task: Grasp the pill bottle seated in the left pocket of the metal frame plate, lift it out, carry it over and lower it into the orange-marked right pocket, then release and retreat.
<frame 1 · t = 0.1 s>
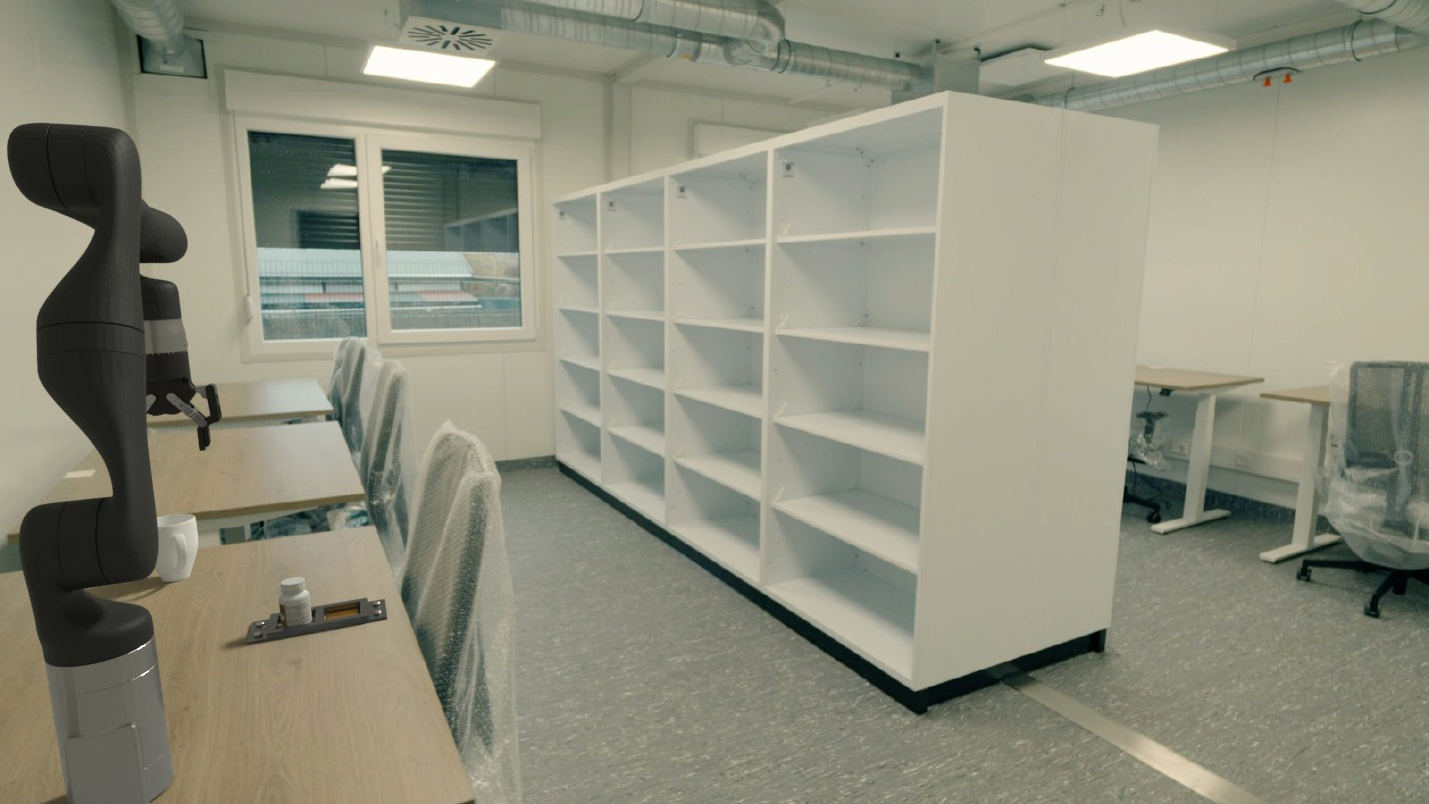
hand: (171, 452, 120), 29 cm above the table, fingers open, 8 cm apart
mug: (179, 581, 144), on the table
pill bottle: (297, 627, 125), resting in metal frame plate
metal frame plate: (320, 621, 126), on the table
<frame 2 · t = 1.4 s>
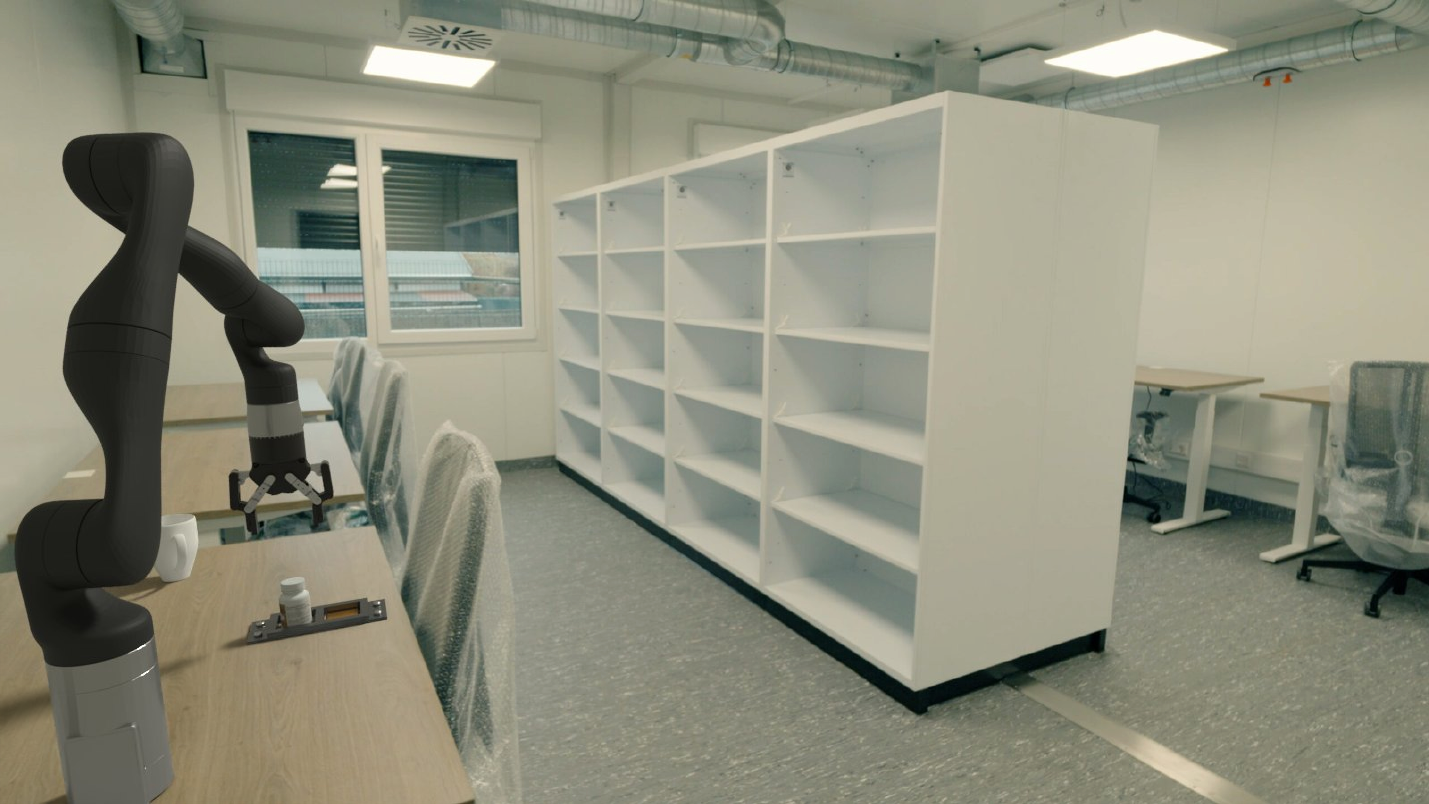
hand: (286, 529, 122), 16 cm above the table, fingers open, 8 cm apart
nothing on the table moved.
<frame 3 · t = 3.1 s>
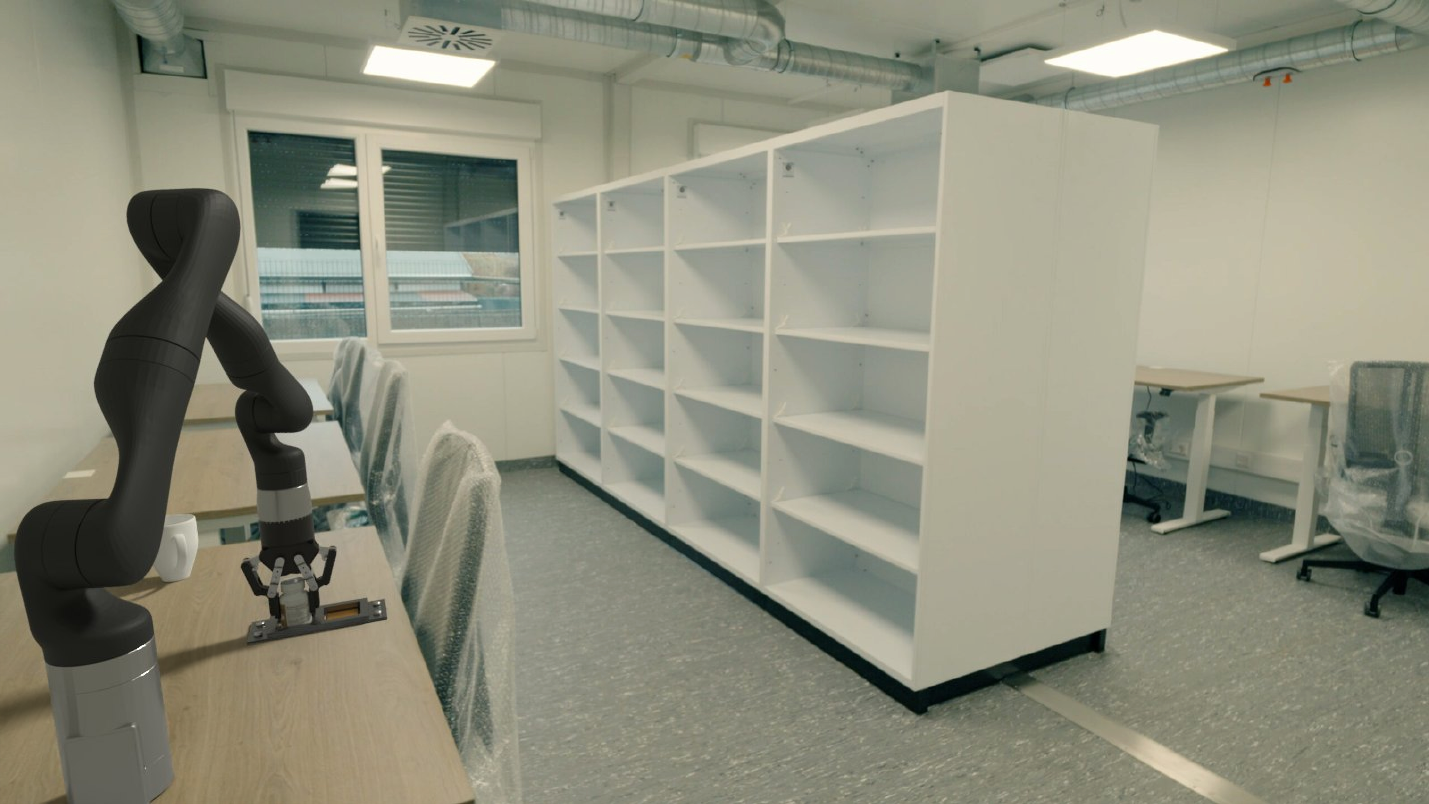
hand: (296, 613, 124), 2 cm above the table, fingers closed on pill bottle, 4 cm apart
pill bottle: (297, 626, 125), resting in metal frame plate, touching gripper
everything else where it was.
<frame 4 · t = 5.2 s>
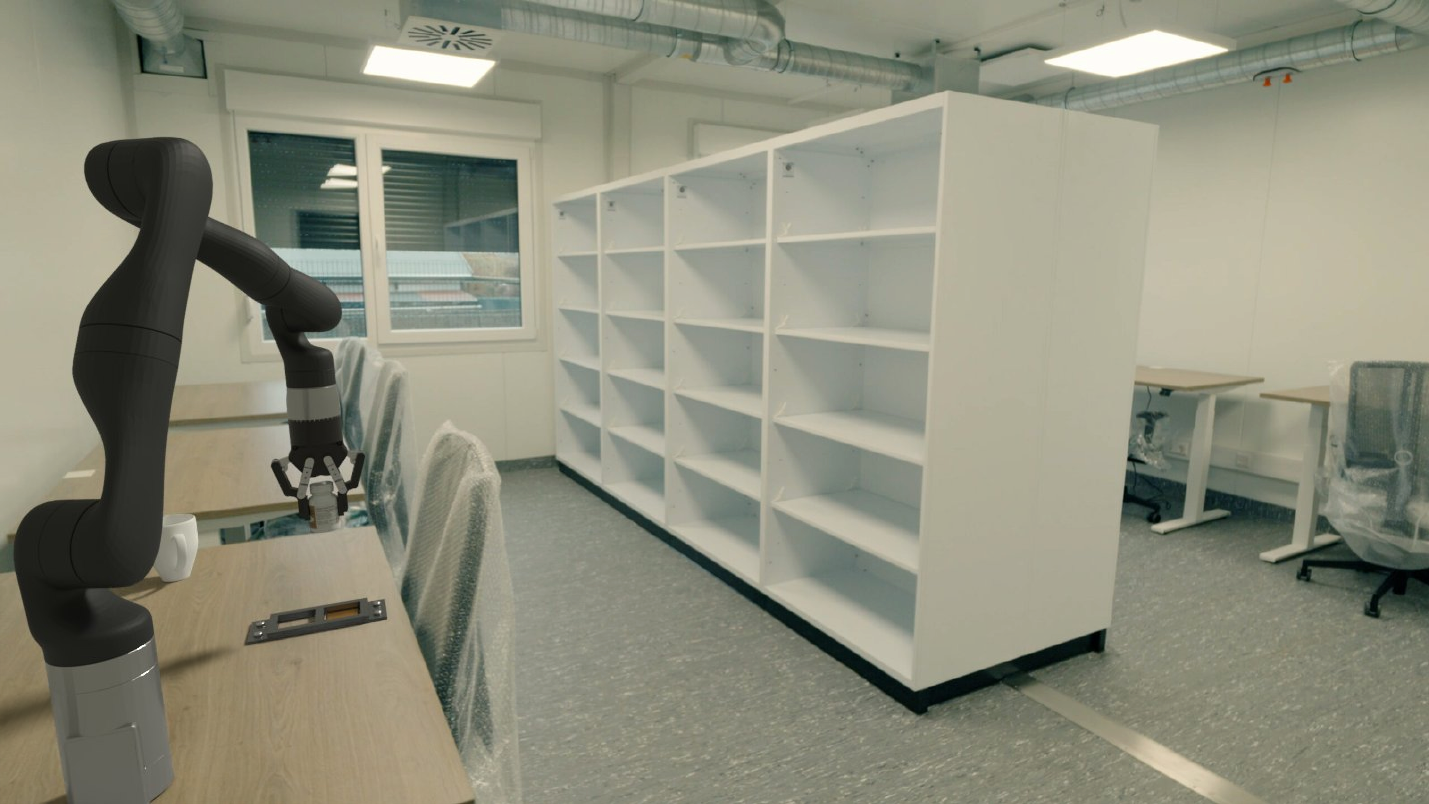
hand: (324, 516, 125), 18 cm above the table, fingers closed on pill bottle, 4 cm apart
pill bottle: (325, 530, 125), point 15 cm above the table, touching gripper
everything else where it was.
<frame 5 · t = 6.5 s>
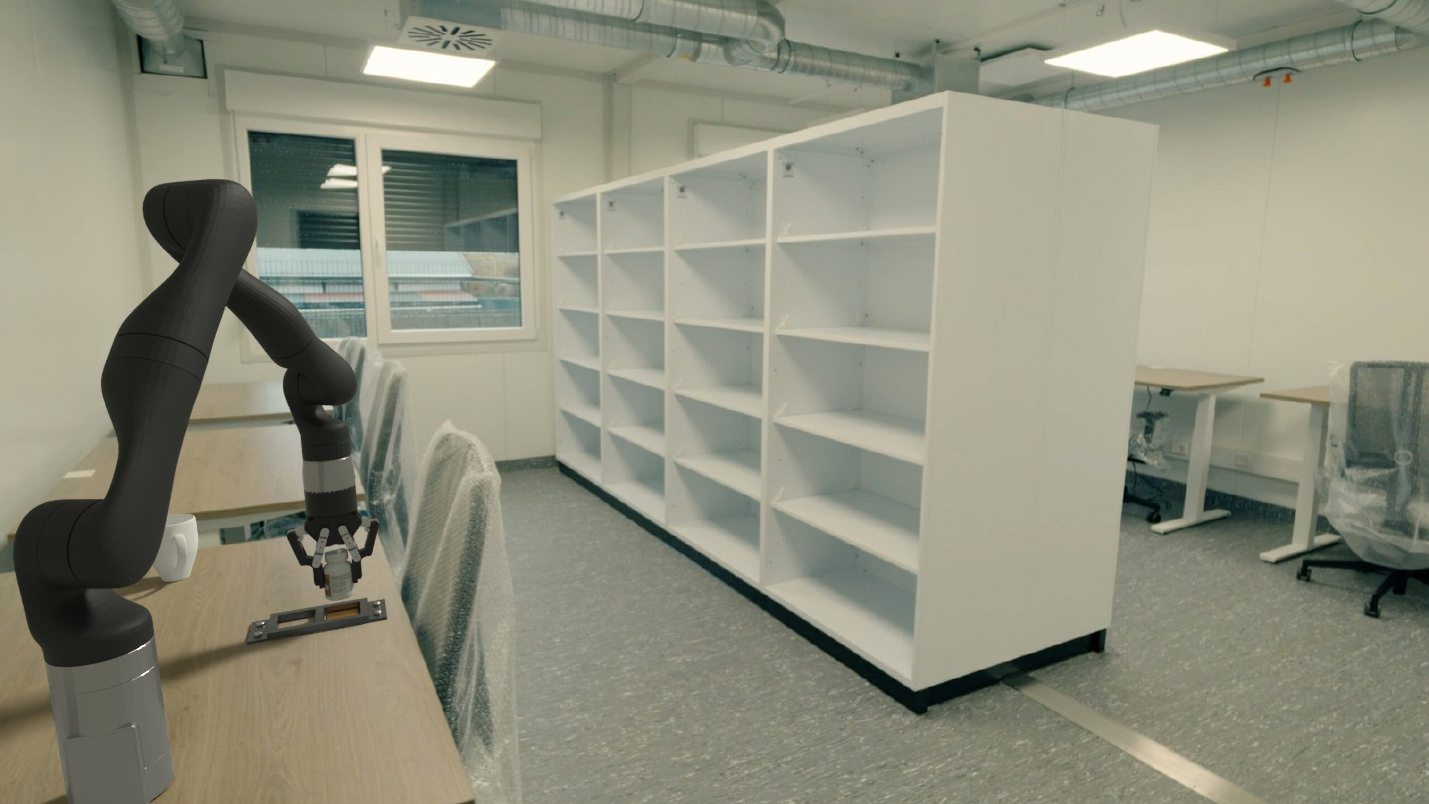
hand: (339, 583, 126), 6 cm above the table, fingers closed on pill bottle, 4 cm apart
pill bottle: (340, 597, 127), point 4 cm above the table, touching gripper
everything else where it was.
when the fingers open (3 cm above the table, at t = 7.3 s): pill bottle stays where it is, resting on metal frame plate.
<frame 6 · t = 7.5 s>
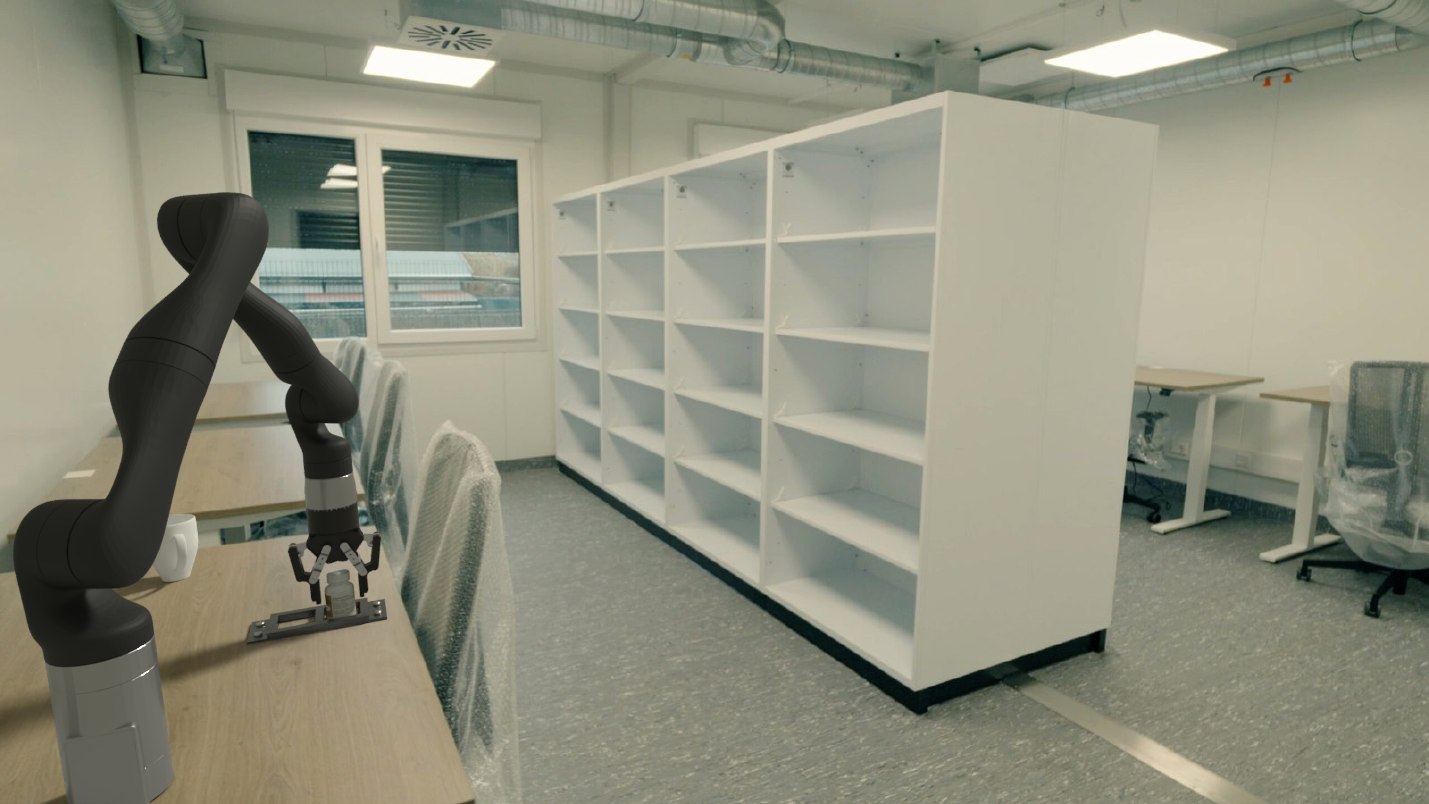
hand: (340, 598, 127), 3 cm above the table, fingers open, 6 cm apart
pill bottle: (342, 617, 127), resting on metal frame plate
everything else where it was.
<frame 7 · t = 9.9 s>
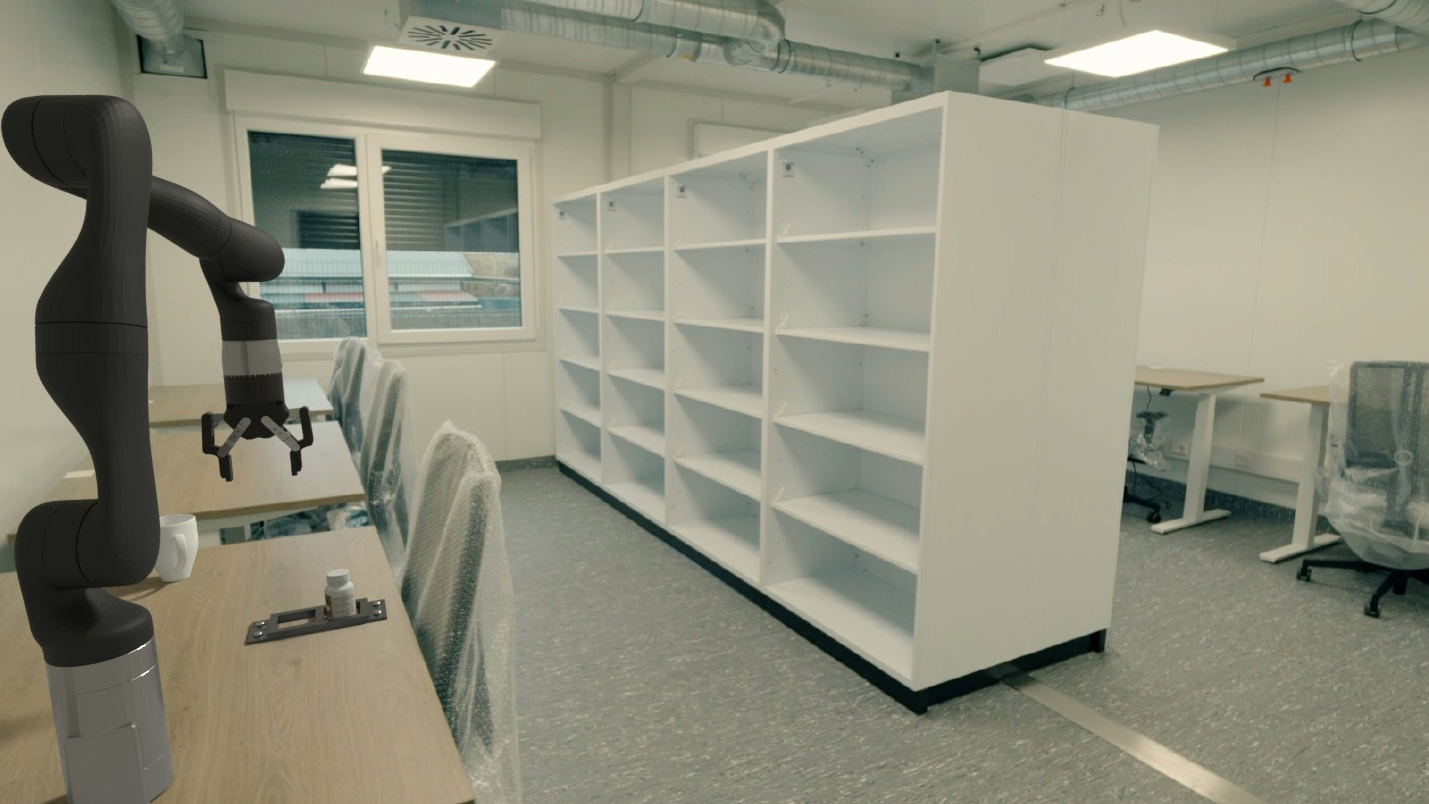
hand: (263, 477, 115), 26 cm above the table, fingers open, 8 cm apart
nothing on the table moved.
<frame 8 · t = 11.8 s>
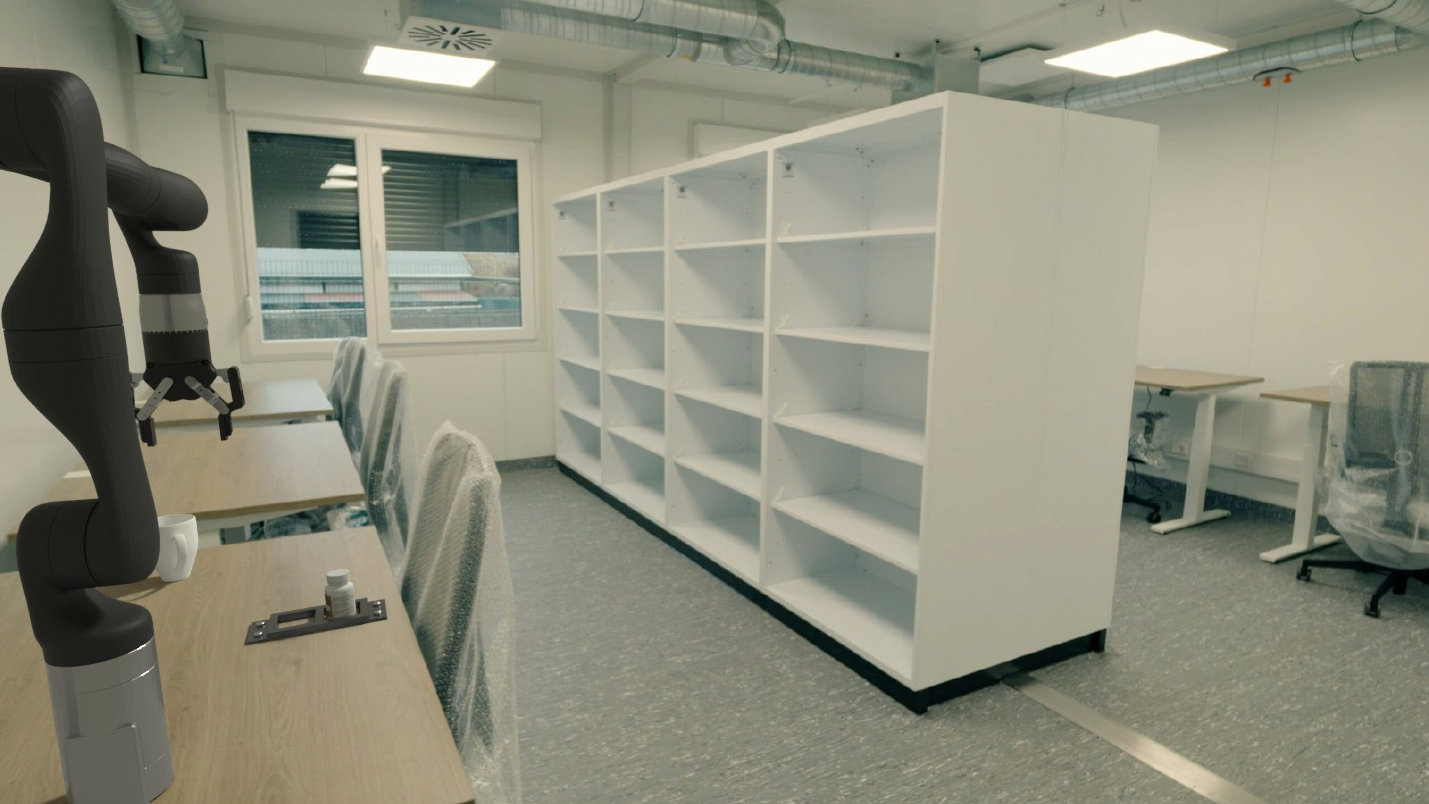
hand: (189, 442, 108), 33 cm above the table, fingers open, 8 cm apart
nothing on the table moved.
at the end: pill bottle 0.2 cm from the target spot on the metal frame plate, point 0.0 cm above the metal frame plate's base; pill bottle tilted 0°; the gripper is holding nothing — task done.
